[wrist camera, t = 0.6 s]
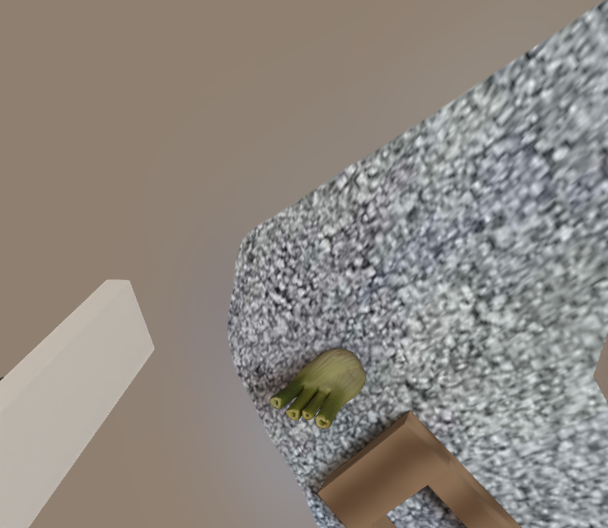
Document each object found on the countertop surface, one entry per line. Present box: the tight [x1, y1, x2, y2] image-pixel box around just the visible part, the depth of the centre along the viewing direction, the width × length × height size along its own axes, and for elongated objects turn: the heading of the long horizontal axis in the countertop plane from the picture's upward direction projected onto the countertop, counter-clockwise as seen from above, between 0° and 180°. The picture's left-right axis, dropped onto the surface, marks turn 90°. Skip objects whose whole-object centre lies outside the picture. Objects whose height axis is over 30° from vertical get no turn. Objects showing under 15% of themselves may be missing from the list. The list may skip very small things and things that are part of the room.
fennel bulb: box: [270, 348, 366, 429], centre depth 42 cm, size 6×5×12 cm
